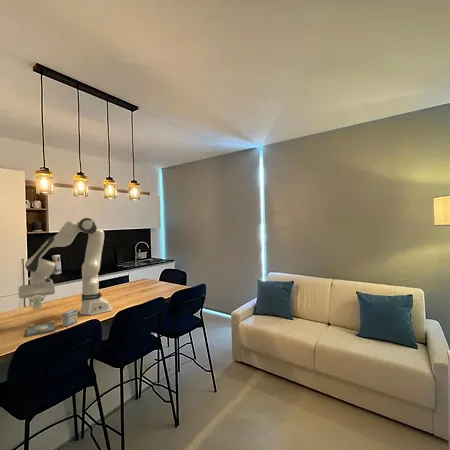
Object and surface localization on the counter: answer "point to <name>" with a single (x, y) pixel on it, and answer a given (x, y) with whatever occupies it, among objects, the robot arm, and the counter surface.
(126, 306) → the counter surface
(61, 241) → the robot arm
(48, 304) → the counter surface
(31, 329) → the levelling base
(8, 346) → the counter surface
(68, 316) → the medicine box
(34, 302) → the block
